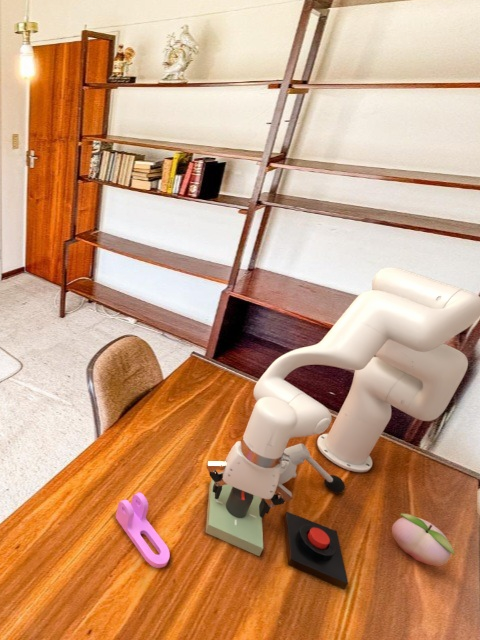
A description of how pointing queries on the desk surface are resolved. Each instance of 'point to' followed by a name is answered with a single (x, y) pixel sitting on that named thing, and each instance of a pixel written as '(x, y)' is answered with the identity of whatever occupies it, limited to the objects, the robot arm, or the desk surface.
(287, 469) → the valve
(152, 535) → the bracket
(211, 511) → the dial panel
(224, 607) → the desk surface
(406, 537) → the decorative fruit
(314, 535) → the red button
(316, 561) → the button block
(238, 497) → the dial knob
